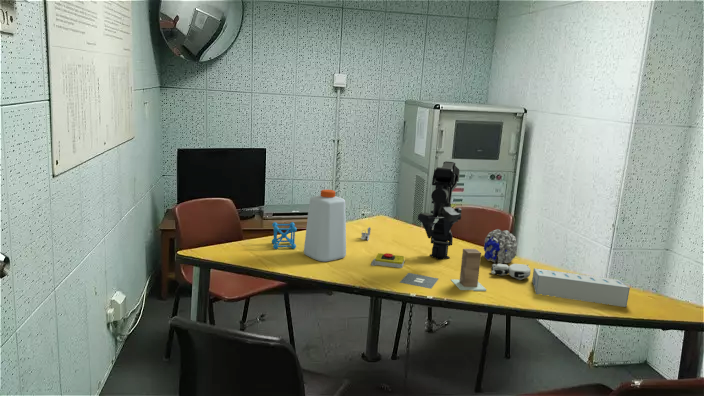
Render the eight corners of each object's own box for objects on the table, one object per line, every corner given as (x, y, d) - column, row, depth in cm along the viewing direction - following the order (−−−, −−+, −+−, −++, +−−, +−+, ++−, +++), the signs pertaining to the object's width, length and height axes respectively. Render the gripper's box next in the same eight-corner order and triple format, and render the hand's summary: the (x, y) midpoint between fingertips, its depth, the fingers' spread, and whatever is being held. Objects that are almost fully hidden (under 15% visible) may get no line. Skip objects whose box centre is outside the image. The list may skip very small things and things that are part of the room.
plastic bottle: (299, 253, 209) (302, 188, 203) (327, 248, 219) (331, 186, 213) (321, 263, 198) (324, 195, 192) (349, 257, 208) (354, 192, 202)
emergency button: (374, 249, 208) (410, 253, 205) (374, 259, 209) (409, 264, 206) (371, 256, 199) (408, 260, 196) (370, 266, 200) (407, 271, 197)
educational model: (480, 274, 215) (480, 247, 207) (486, 244, 230) (487, 219, 221) (513, 278, 210) (515, 252, 202) (518, 248, 225) (519, 222, 216)
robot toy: (490, 279, 194) (530, 283, 190) (490, 268, 193) (531, 272, 189) (491, 270, 206) (529, 273, 201) (491, 260, 205) (530, 263, 200)
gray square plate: (408, 273, 192) (408, 272, 192) (438, 279, 188) (438, 278, 188) (399, 283, 181) (399, 282, 181) (431, 289, 177) (431, 288, 177)
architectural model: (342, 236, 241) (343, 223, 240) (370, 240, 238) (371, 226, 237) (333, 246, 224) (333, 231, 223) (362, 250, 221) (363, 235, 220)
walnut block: (459, 281, 185) (463, 248, 183) (472, 281, 186) (475, 248, 183) (464, 286, 180) (468, 252, 178) (477, 286, 181) (481, 252, 179)
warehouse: (615, 293, 186) (619, 274, 184) (626, 308, 172) (629, 287, 171) (531, 282, 193) (534, 263, 192) (535, 295, 179) (538, 275, 178)
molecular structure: (273, 249, 212) (273, 227, 210) (271, 243, 222) (272, 221, 220) (296, 249, 215) (297, 227, 213) (293, 242, 224) (294, 221, 222)
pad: (450, 280, 187) (450, 279, 187) (475, 281, 189) (475, 279, 189) (460, 290, 178) (460, 289, 177) (486, 291, 179) (486, 289, 179)
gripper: (437, 204, 184) (434, 244, 187) (473, 201, 194) (468, 240, 197) (418, 199, 193) (415, 237, 196) (452, 196, 204) (449, 233, 207)
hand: (437, 237), depth 199 cm, fingers open, 9 cm apart
